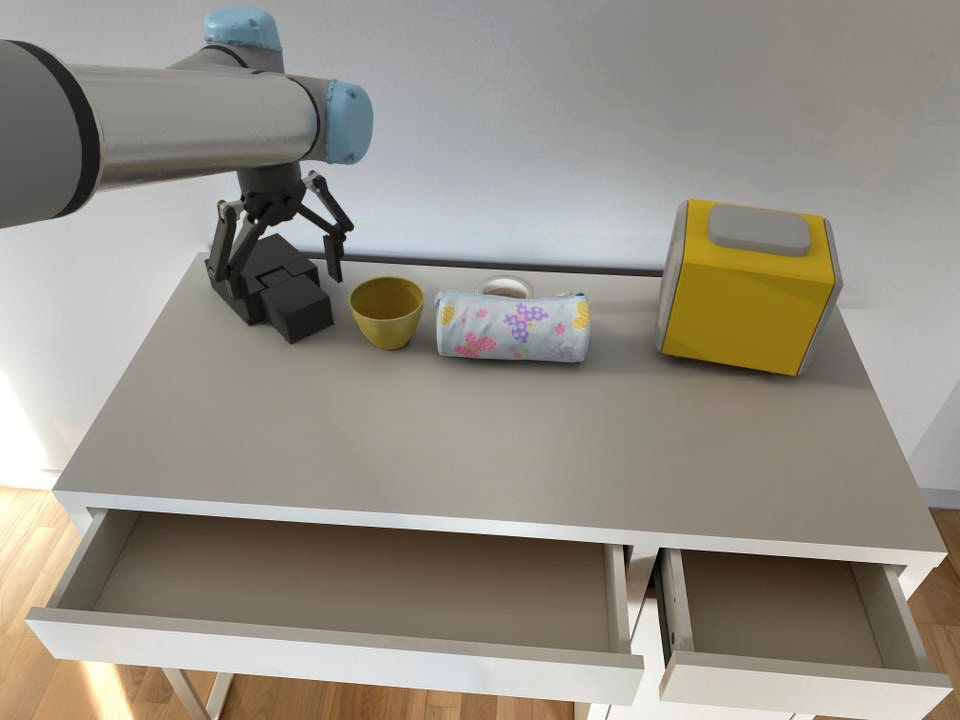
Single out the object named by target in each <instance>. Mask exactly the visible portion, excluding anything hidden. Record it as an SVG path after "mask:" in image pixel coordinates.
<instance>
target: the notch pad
mask: <svg viewBox="0 0 960 720" xmlns="http://www.w3.org/2000/svg"><path fill="white" fill-rule="evenodd" d="M203 261H204V265H205V268H206V269H207V266H208V262H209V258H207V259H204V260H203ZM281 269H284V270H285V271H286V272H287V273H288V274H289V275H291V276H292V277H293V278H295V277H297V276H300V275H302V274H305V275H306V276H307V277H308V278H309V279H311V280H312V281H313V282H314V283H315V284H316V285H317V286H319V287H320V288H321V289H322V285H321V280H320V274H319V268H318V266H317V265H316V264H315V263H314V262H313V261H311V259H309V258H308V257H306V255H305V254H303V253H302V252H301V251H300V250H299V249H297V247H295V246H294V245H292V243H290V242H289V241H288V240H287V239H285V238H284V237H283V236H282V235H281V234H280V233H279V232H276V233H273V234H271V235H267V236H265V237H263V238H259V239H258V241H257V243H256V245H255V247H254V249H253V250H252V252H251V254H250V256H249V258H248V260H247V262H246V264H245V266H244V268H243V270H242V272H241V275H242V276H244V277H245V279H246V283H247V287H248V291H249V295H250V299H251V303H252V307H253V311H254V316H255V319H254V320H251V321H250V320H249V319H248V318H247V317H246V316H245V315H244V314H243V313H242V312H241V310H240V306H239V303H238V300H237V301H235V300H234V299H233V298H232V297H231V295H230V294H229V293H228V289H227V285H226V281H225V280H223V281H222V282H216V281H215V280H214V279H213V278H212V277H211V276H210V275H209V274H208V273H207V276H208V279H209V282H210V286H211V288H212V289H213V291H214V292H215V293H217V294H218V296H219V297H220V298H221V299H222V300H223V301H224V302H225V303H226V304H227V305H228V306H229V307H230V308H231V309H232V310H233V311H234V312H235V314H236V315H238V317H240V319H242V321H243V322H244V323H245V324H246V325H247V326H248V327H250V326H252V325H255V324H257V323H260V322H262V321H264V320H266V316H265V312H264V308H263V304H262V299H261V295H260V292H261V291H263V290H266V288H265V287H264V286H263V285H262V281H261V278H262V277H264V276H266V275H269V274H271V273H274V272H276V271H279V270H281Z"/></svg>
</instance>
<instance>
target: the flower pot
mask: <svg viewBox="0 0 960 720" xmlns="http://www.w3.org/2000/svg"><path fill="white" fill-rule="evenodd" d="M425 299H426V298H425V292H424V290H423V288H422V287H421V285H419V284H418V283H417V282H416V281H414V280H411V279H409V278H406V277H403V276H398V275H397V276H395V275H382V276H376V277H372V278H368V279H366V280H364V281H361V282H360V283H359V284H357V285H356V286H355V287H353V289H352V290H351V291H350V293H349V295H348V305H349V308H350V311H351V314H352V316H353V319H354V321H355V323H356V324H357V326H358V328H359V329H360V331H361V333H362V334H363V335H364V337H366V339H367V340H368V341H369V342H370V343H371V344H372V345H373V346H375V348H377V349H381V350H384V351H385V350H386V351H392V350H398V349H400V348H401V347H404V346H405V345H406V344H407V343H408V341H410V339H411V337H412V336H413V335H414V334H415V332H416V329H417V327H418V325H419V323H420V320H421V317H422V316H423V315H422V314H423V311H424V306H425Z"/></svg>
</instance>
